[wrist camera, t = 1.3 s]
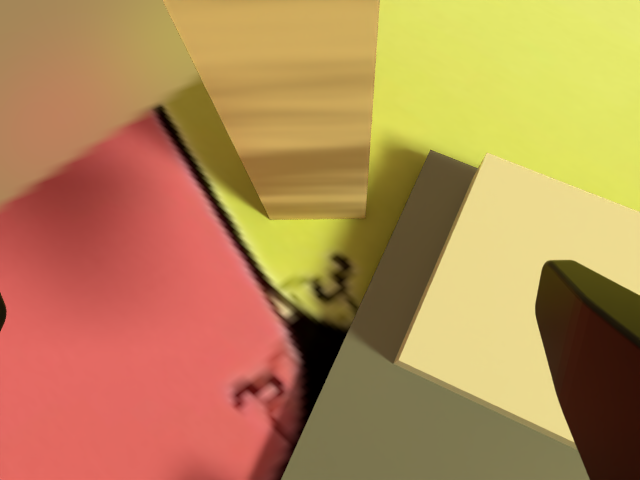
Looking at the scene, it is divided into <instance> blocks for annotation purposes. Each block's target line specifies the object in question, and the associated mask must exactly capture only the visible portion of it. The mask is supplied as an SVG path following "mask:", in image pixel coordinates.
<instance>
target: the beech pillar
mask: <svg viewBox="0 0 640 480" xmlns="http://www.w3.org/2000/svg"><path fill="white" fill-rule="evenodd" d="M163 2H164V4H165V6H166V9H167V11H168V13H169V15H170V17H171V19H172V21H173V23H174V25H175V27H176V29H177V31H178V33H179V35H180V37H181V39H182V41H183V43H184V45H185V47H186V49H187V51H188V53H189V55H190V57H191V59H192V62H193V63H194V66H195V67H196V70H197V72H198V74H199V76H200V78H201V80H202V82H203V84H204V86H205V88H206V90H207V92H208V94H209V96H210V98H211V100H212V102H213V104H214V106H215V108H216V110H217V112H218V114H219V117H220V119H221V121H222V123H223V125H224V127H225V129H226V131H227V133H228V135H229V137H230V139H231V141H232V143H233V145H234V147H235V149H236V151H237V153H238V155H239V157H240V159H241V161H242V163H243V165H244V167H245V169H246V172H247V174H248V176H249V178H250V180H251V182H252V184H253V186H254V188H255V190H256V192H257V194H258V196H259V198H260V200H261V202H262V204H263V206H264V208H265V210H266V212H267V214H268V216H269V218H270V220H285V219H355V218H365V216H366V200H367V185H368V170H369V155H370V140H371V124H372V109H373V94H374V79H375V63H376V48H377V33H378V18H379V3H380V0H163Z"/></svg>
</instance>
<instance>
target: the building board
mask: <svg viewBox="0 0 640 480" xmlns="http://www.w3.org/2000/svg"><path fill="white" fill-rule="evenodd" d="M548 260H574V261H576V262H578V263H580V264H582V265H583V266H585V267H587V268H589V269H591V270H593V271H595V272H597V273H599V274H600V275H602V276H604V277H606V278H608V279H610V280H612V281H614V282H616V283H618V284H619V285H621V286H623V287H625V288H627V289H629V290H631V291H633V292H635V293H636V294H638V295H640V212H638V211H636V210H633V209H631V208H628V207H626V206H623V205H620V204H618V203H615V202H613V201H610V200H608V199H605V198H602V197H600V196H597V195H595V194H592V193H590V192H587V191H584V190H582V189H579V188H577V187H574V186H572V185H569V184H566V183H564V182H561V181H559V180H556V179H553V178H551V177H548V176H546V175H543V174H541V173H538V172H535V171H533V170H530V169H528V168H525V167H523V166H520V165H517V164H515V163H512V162H510V161H507V160H505V159H502V158H499V157H497V156H494V155H492V154H489V153H486V155H485V157H484V159H483V161H482V162H481V164H480V166H479V168H475V167H473V166H470V165H468V164H465V163H463V162H460V161H458V160H455V159H453V158H450V157H448V156H445V155H442V154H440V153H437V152H435V151H432V150H430V152H429V154H428V156H427V159H426V161H425V163H424V165H423V167H422V170H421V172H420V174H419V176H418V178H417V181H416V183H415V185H414V187H413V189H412V192H411V194H410V196H409V198H408V200H407V203H406V205H405V207H404V209H403V212H402V214H401V216H400V218H399V220H398V223H397V225H396V227H395V229H394V231H393V234H392V236H391V238H390V240H389V242H388V245H387V247H386V249H385V251H384V253H383V256H382V258H381V260H380V262H379V264H378V267H377V269H376V271H375V273H374V276H373V278H372V280H371V282H370V284H369V287H368V289H367V291H366V293H365V295H364V298H363V300H362V302H361V304H360V306H359V309H358V311H357V313H356V315H355V317H354V320H353V322H352V324H351V326H350V329H349V331H348V333H347V335H346V337H345V340H344V342H343V344H342V346H341V348H340V351H339V353H338V355H337V357H336V359H335V362H334V364H333V366H332V368H331V370H330V373H329V375H328V377H327V379H326V382H325V384H324V386H323V388H322V390H321V393H320V395H319V397H318V399H317V401H316V404H315V406H314V408H313V410H312V412H311V415H310V417H309V419H308V421H307V423H306V426H305V428H304V430H303V432H302V434H301V437H300V439H299V441H298V443H297V446H296V448H295V450H294V452H293V454H292V457H291V459H290V461H289V463H288V465H287V468H286V470H285V472H284V474H283V476H282V479H281V480H590V479H589V477H588V474H587V472H586V469H585V467H584V464H583V462H582V459H581V457H580V454H579V452H578V450H577V447H576V445H575V442H574V440H573V437H572V435H571V432H570V430H569V427H568V425H567V422H566V420H565V417H564V415H563V412H562V409H561V407H560V404H559V401H558V398H557V395H556V391H555V388H554V384H553V381H552V377H551V373H550V369H549V366H548V362H547V358H546V354H545V351H544V347H543V343H542V339H541V335H540V332H539V328H538V324H537V320H536V315H535V302H536V297H537V292H538V286H539V281H540V276H541V271H542V267H543V265H544V263H545V262H546V261H548Z"/></svg>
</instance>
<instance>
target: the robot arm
mask: <svg viewBox="0 0 640 480" xmlns="http://www.w3.org/2000/svg"><path fill="white" fill-rule="evenodd" d="M535 315H536V320H537V324H538V328H539V332H540V335H541V339H542V343H543V347H544V351H545V354H546V358H547V362H548V366H549V369H550V373H551V377H552V381H553V384H554V388H555V391H556V395H557V398H558V401H559V404H560V407H561V409H562V412H563V415H564V417H565V420H566V422H567V425H568V427H569V430H570V432H571V435H572V437H573V440H574V442H575V445H576V447H577V450H578V452H579V454H580V457H581V459H582V462H583V464H584V467H585V469H586V472H587V474H588V477H589V479H590V480H640V295H638V294H636V293H635V292H633V291H631V290H629V289H627V288H625V287H623V286H621V285H619V284H618V283H616V282H614V281H612V280H610V279H608V278H606V277H604V276H602V275H600V274H599V273H597V272H595V271H593V270H591V269H589V268H587V267H585V266H583V265H582V264H580V263H578V262H576V261H574V260H548V261H546V262H545V263H544V265H543V267H542V271H541V276H540V281H539V286H538V292H537V297H536V302H535ZM5 319H6V306H5V303H4V301H3V298H2V296H1V293H0V331H1V329H2V327H3V324H4V322H5Z"/></svg>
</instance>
